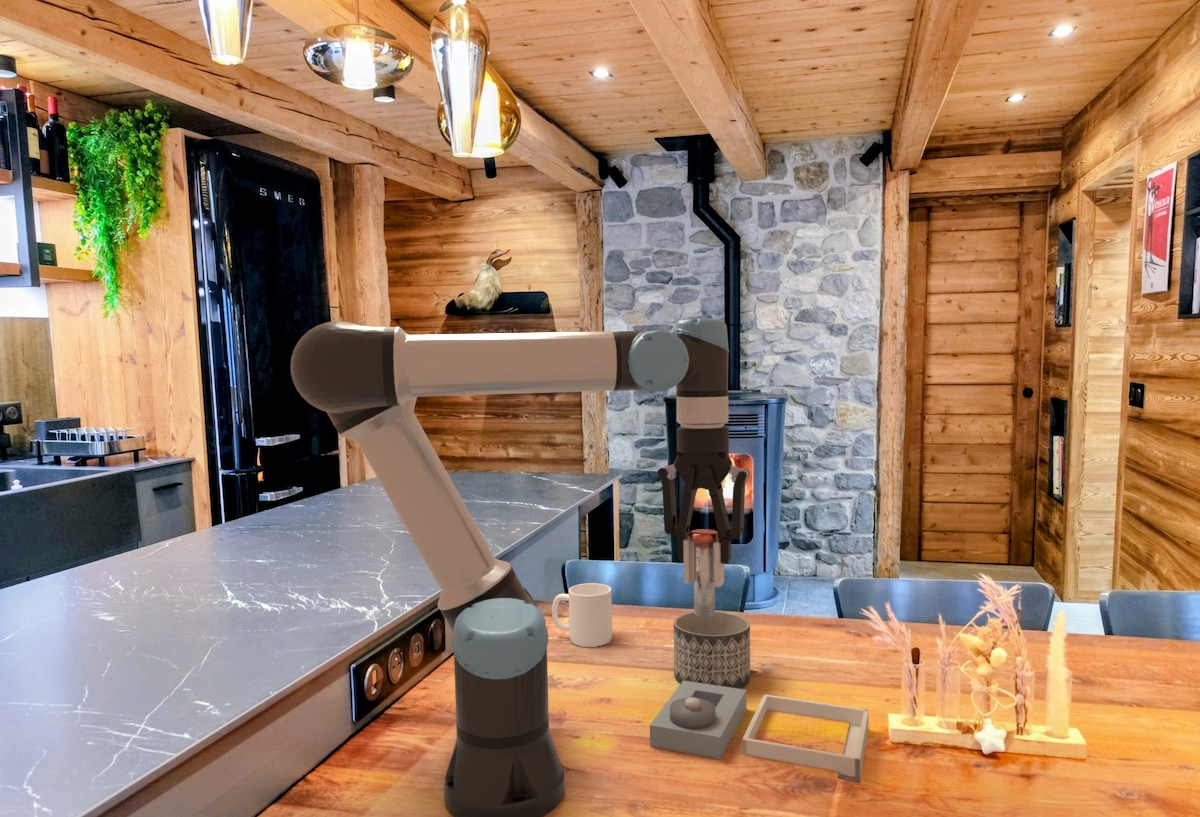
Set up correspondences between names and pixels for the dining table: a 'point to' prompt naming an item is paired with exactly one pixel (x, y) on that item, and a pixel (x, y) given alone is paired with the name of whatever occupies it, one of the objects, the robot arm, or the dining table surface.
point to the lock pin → (704, 571)
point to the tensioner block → (699, 719)
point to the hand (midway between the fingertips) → (704, 582)
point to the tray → (844, 763)
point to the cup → (587, 614)
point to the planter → (712, 649)
